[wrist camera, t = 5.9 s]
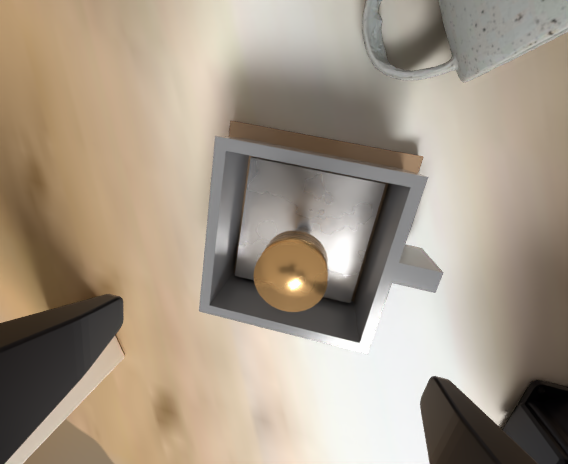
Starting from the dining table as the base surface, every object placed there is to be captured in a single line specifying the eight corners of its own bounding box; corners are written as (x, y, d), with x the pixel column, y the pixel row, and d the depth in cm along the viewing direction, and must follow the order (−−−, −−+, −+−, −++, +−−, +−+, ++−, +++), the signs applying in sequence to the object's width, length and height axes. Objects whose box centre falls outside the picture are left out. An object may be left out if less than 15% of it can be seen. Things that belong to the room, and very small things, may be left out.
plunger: (383, 182, 17) (418, 207, 10) (349, 298, 20) (359, 377, 13) (253, 157, 18) (207, 164, 11) (237, 271, 20) (193, 333, 14)
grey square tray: (442, 160, 17) (491, 167, 12) (386, 320, 21) (404, 377, 16) (235, 121, 19) (199, 113, 13) (217, 279, 22) (184, 319, 17)
